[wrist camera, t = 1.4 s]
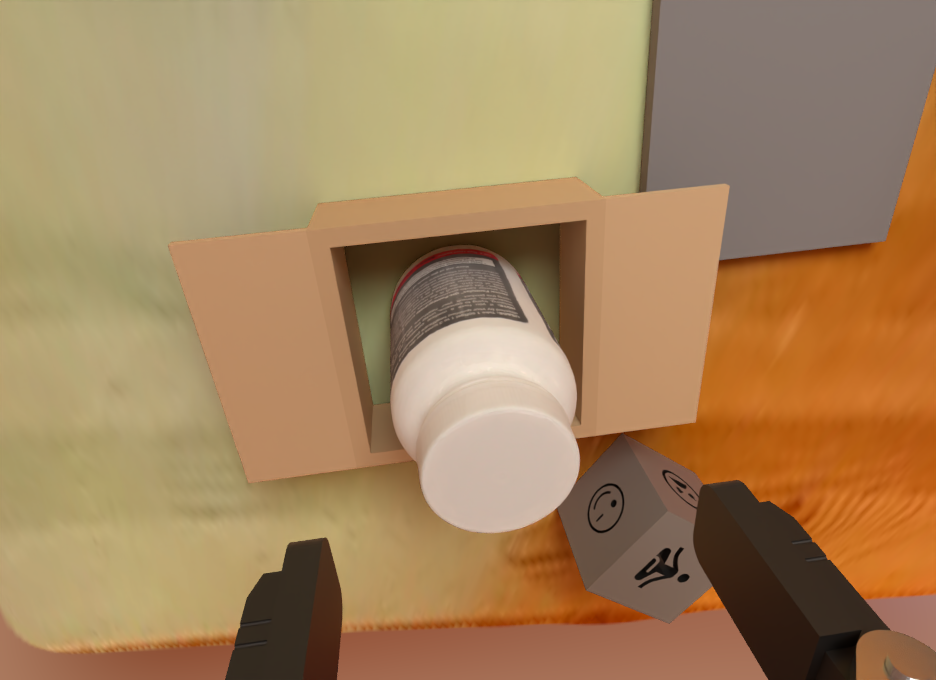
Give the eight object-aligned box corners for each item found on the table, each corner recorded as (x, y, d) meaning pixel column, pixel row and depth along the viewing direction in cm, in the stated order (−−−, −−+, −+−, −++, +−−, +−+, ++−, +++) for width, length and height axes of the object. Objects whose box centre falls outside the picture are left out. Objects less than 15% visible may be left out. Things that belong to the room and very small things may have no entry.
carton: (200, 215, 19) (167, 245, 17) (683, 166, 21) (730, 185, 18) (265, 430, 24) (248, 483, 21) (661, 379, 25) (695, 422, 22)
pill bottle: (365, 330, 22) (349, 514, 14) (435, 214, 20) (468, 340, 12) (479, 386, 24) (529, 577, 15) (553, 283, 22) (656, 436, 14)
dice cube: (621, 432, 26) (667, 511, 22) (694, 472, 28) (750, 552, 24) (555, 503, 28) (586, 590, 24) (628, 537, 30) (669, 623, 25)
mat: (655, -42, 17) (664, -44, 17) (957, -65, 18) (974, -67, 18) (634, 264, 22) (640, 269, 22) (874, 236, 23) (885, 241, 22)
